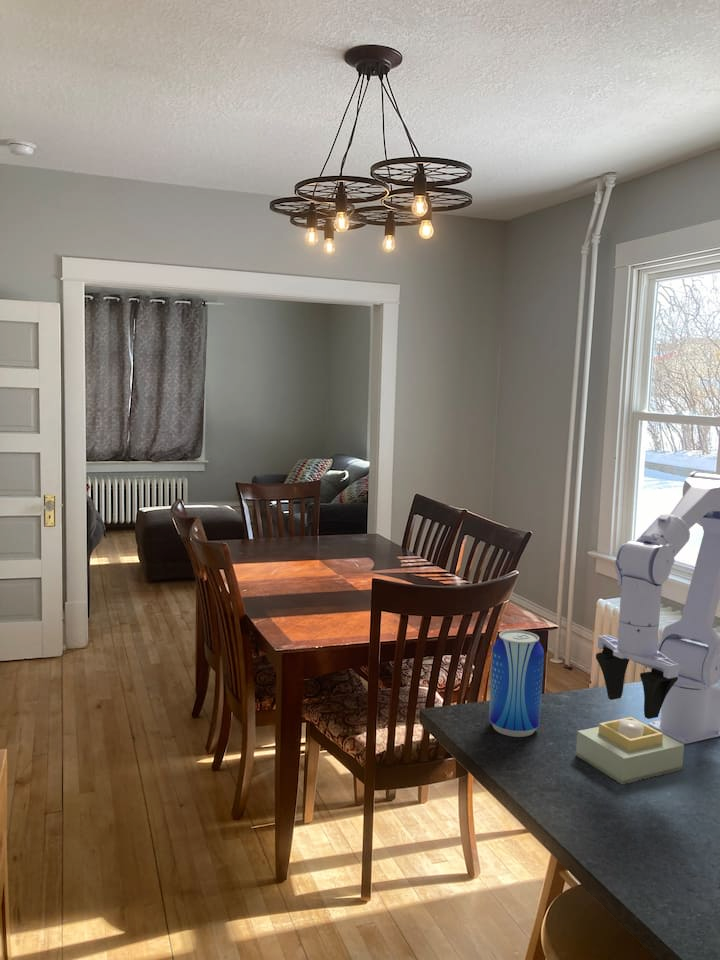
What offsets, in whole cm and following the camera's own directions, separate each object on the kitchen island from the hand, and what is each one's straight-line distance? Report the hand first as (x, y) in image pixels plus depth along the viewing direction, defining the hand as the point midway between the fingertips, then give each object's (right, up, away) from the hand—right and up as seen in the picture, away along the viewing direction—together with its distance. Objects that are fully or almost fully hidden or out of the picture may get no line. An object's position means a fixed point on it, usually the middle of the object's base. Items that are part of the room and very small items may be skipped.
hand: (632, 707), depth 123 cm
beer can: (-16, -7, +12) cm, 21 cm away
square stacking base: (0, -9, +1) cm, 9 cm away
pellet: (0, -8, +1) cm, 8 cm away
